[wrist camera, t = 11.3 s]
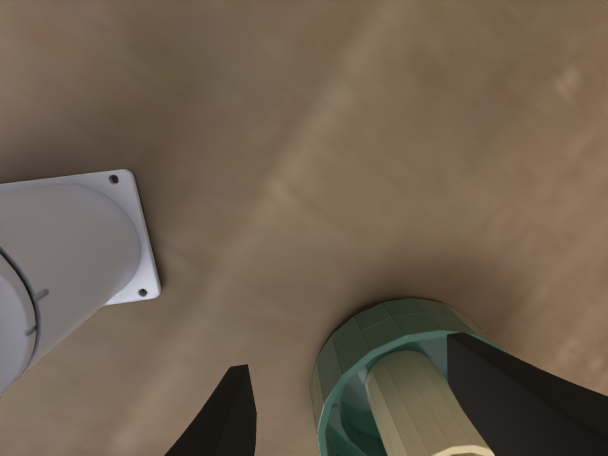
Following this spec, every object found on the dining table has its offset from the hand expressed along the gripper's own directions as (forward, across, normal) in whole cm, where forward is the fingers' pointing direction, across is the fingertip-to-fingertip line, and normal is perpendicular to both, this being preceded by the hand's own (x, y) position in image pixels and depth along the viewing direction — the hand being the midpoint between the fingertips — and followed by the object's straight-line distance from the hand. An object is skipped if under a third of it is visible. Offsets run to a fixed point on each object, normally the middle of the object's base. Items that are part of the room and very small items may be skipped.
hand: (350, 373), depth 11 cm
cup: (+9, -5, +9) cm, 14 cm away
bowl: (+10, -5, +9) cm, 14 cm away
